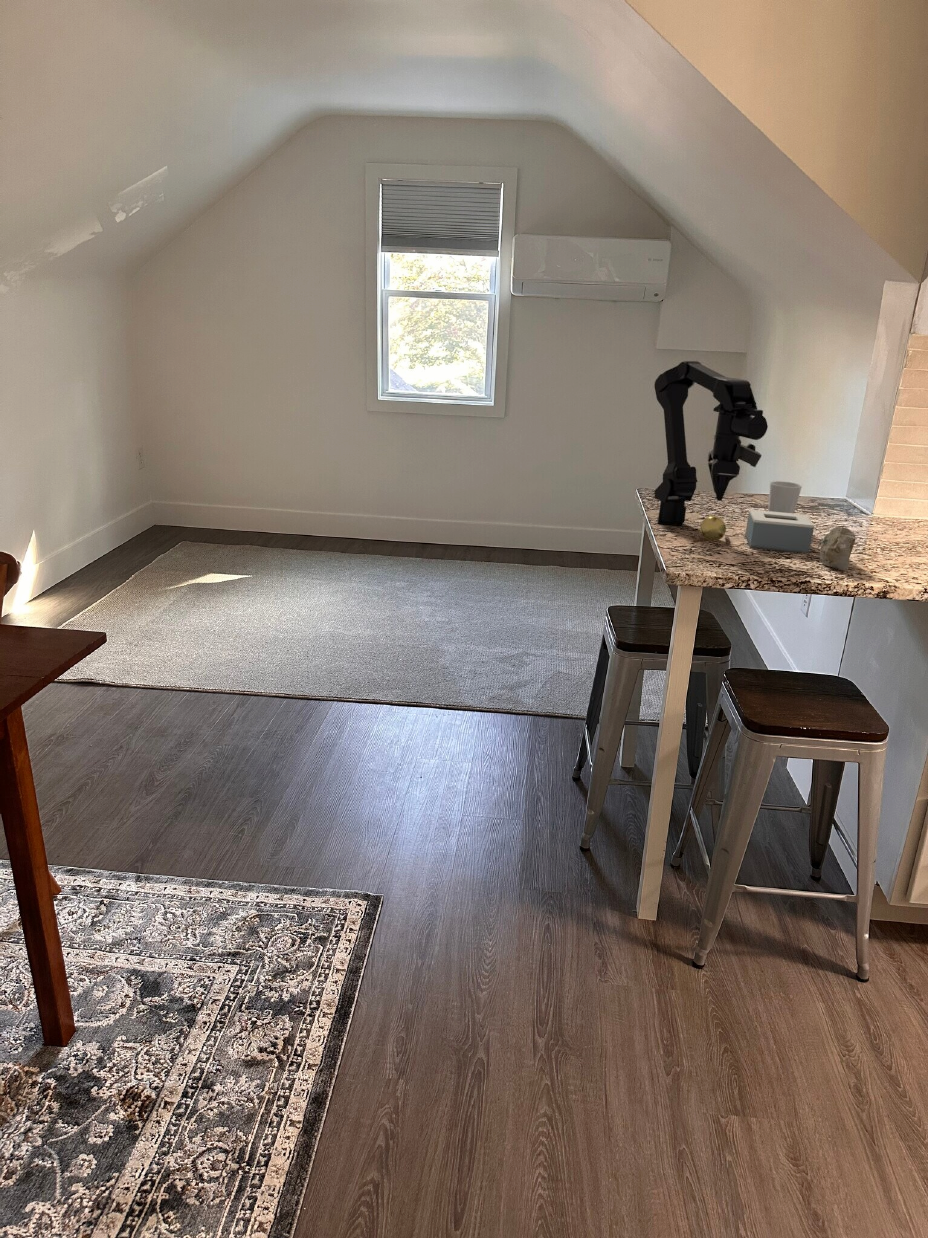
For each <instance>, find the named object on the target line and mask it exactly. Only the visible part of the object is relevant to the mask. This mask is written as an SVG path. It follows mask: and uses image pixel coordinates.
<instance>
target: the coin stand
mask: <svg viewBox="0 0 928 1238" xmlns="http://www.w3.org/2000/svg"><path fill="white" fill-rule="evenodd" d="M724 536H725V537H724V540H725V543H726V544H727V545H730V544H731V538H730V536H729V535H724ZM693 538H694V539H693V540H694V541H695V542H698V541H699V535H698V533H697V532H693Z"/></svg>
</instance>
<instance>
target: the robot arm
mask: <svg viewBox="0 0 928 1238" xmlns="http://www.w3.org/2000/svg"><path fill="white" fill-rule="evenodd" d="M695 383H696V385H699V386H701V387H702V388H704V389H707V390H709V391H710V392H711V393H712V397H713V398H714V399H715V400H716V401H717V402H718V405H716V406H715V407H714V408H713V409H712V410H713V412H715V413H718V415H717V420H716V421H717V422H716V428H715V434H714V435H713V441H714V442H713V449H712V450H710V451H709V452H708V453H707V465H708V469H709V470H708V472H709V474H710V479H711V483H712V487H713V492H714V493H715V497H716V500H717V501H720V502H721V501H723V498H724V496H725V493H726V491H727V489H728V486H729V484H730V482H731V481H732V480H733V479H735V478H737V477H738V476H739V475H740V470H741V466H740V464H739V463H738V462H739V461H740V460H741V461H742V462H744V463H747V464H749V465H750V467H753V468H756V467H757V465H758V463H759V461H760V460H761V458H762V454H761V453H760V452H759V451H757V450H756V445H754V444H752V443H751V442H750V443H748V444H746V445H744V444H742V440H741V439H740V437H742V438H746V439H751V440H754V441H758V440H761V439H762V438H763V437H764V436H765V435H766V433H767V431H768V427H769V425H768V421H767V419H766V417H765V416H763V415H764V410H763V409H758V405H757V402H756V399H755V396H754V393H753V390H752V387H751V383H750V381H749V380H747V379H742V378H741V379H740V378H735V377H728V376H726V375H723V374H721V373H720V372H717V371H715V370H713V369H711V368H710V367H707V366H705V365H703V364H702V363H701V362H700V361H697V360H696V361H695V360H683V361H682V362H679V364H678V365H676V366H674V367H672V368H670V369H668V370H666V371H664V372H663V373H661V374H659V375H658V376H657V378H656V379H655V382H654V390H655V391H654V392H655V396H656V400H657V402H658V404H659V405H660V406H661V408H662V410H663V417H664V418H663V419H664V430H665V431H664V432H665V440H666V441H665V443H666V444H665V446H666V455H667V456H666V457H667V465H666V467H665V469H664V471H663V473H662V481H661V482H660V484H659V485H658V486H657V487H656V488H655V490H654V491H653V492H654V499H656V500H658V501H659V508H658V516H657V517H656V519H657V524H660V525H669V526H680V527H681V526H683V525H684V523H685V520H686V514H687V506H686V505H685V503H686V502H691V501H692V499H693V497H694V494H695V492H696V489H697V483H698V482H699V481H698V478H697V468H696V466H691V465H690V463H689V462H688V456H687V455H688V453H687V442H686V430H685V428H686V427H685V417H684V416H685V415H684V405H685V403H686V402H687V399H688V397H689V390H690V388H692V387H694V386H695Z"/></svg>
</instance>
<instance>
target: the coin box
mask: <svg viewBox="0 0 928 1238" xmlns="http://www.w3.org/2000/svg"><path fill="white" fill-rule="evenodd" d="M814 530H815V524H814V523H813V522H812V520H811V518H809V516H808V515H807V514H804V513H803V514H802V513H794V514H793V513H783V512H772V511H768V510H759V509H749V511H748V516H747V521H746V527H745V534H744V537H745V539H746V542H747V544H748V545H749V548H750V549H751V548H752V549H761V550H762V549H763V550H771V551H779V552H781V551H782V552H790V553H791V552H793V553H800V552H805V553H804V554H810V551H811V545H812V542H813V541H812V540H813V534H814Z"/></svg>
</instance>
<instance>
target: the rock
mask: <svg viewBox="0 0 928 1238" xmlns="http://www.w3.org/2000/svg"><path fill="white" fill-rule="evenodd" d="M856 539H857V538H856V534H855V533H854V532H853V531H852V530H850V529H849V528H847V527H843V526H836V527H833V528H832V529H830V531H829V532H828V533H827V534H826V535H825V536H824V538H823V540H822V541H821V543H820V548H819V551H820V552H819V560H820V562H821V563H823V564H822V565H824V566H827V567H830V568H833V569H835V570H837V569H839V570H838V571H840V570H842V571H848V569H849V567H850V565H851V562H850V559H851V555H852V551H853V548H854V546H855V544H856Z"/></svg>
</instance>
